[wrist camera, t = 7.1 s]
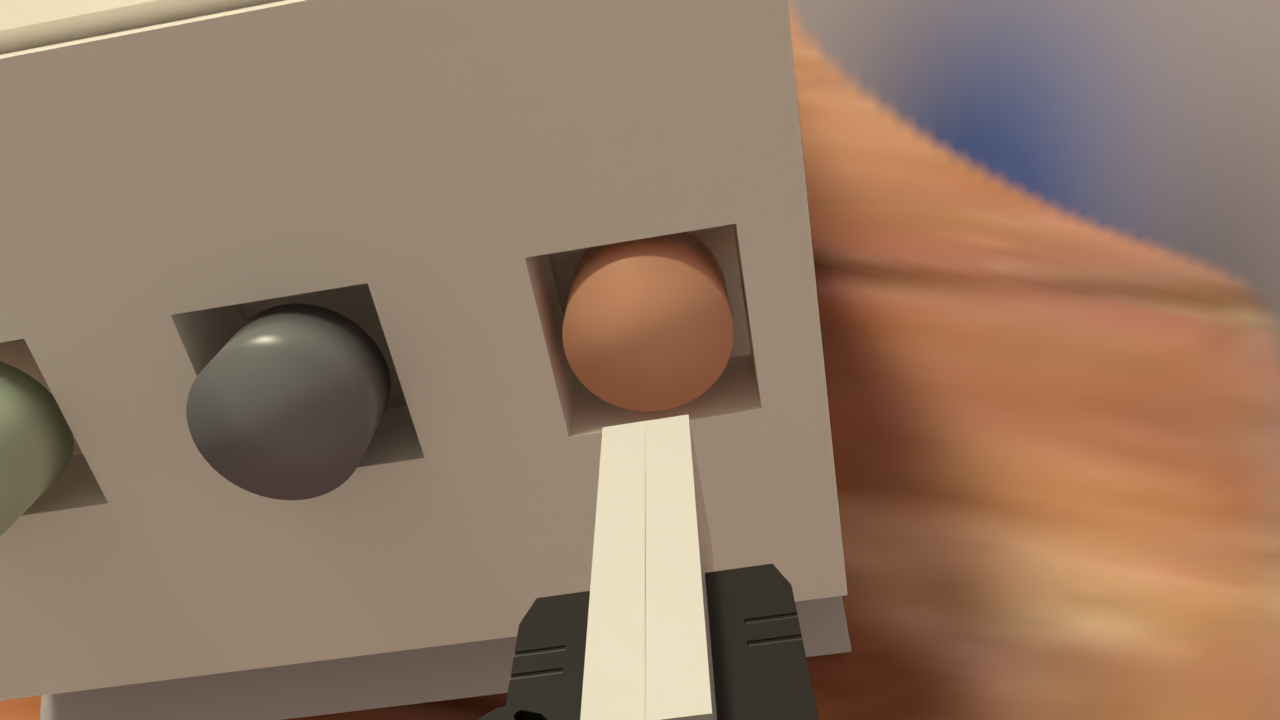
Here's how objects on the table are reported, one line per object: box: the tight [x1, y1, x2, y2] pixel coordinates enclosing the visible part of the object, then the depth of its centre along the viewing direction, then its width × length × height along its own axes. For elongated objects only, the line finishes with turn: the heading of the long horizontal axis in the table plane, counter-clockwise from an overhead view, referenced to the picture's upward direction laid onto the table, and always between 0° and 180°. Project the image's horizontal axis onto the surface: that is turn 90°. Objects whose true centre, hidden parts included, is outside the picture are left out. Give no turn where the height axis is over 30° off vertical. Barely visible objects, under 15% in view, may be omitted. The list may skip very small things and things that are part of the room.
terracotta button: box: [562, 232, 733, 412], centre depth 24 cm, size 4×4×4 cm
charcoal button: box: [186, 303, 391, 500], centre depth 23 cm, size 4×4×4 cm
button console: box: [0, 0, 852, 720], centre depth 26 cm, size 25×17×17 cm
